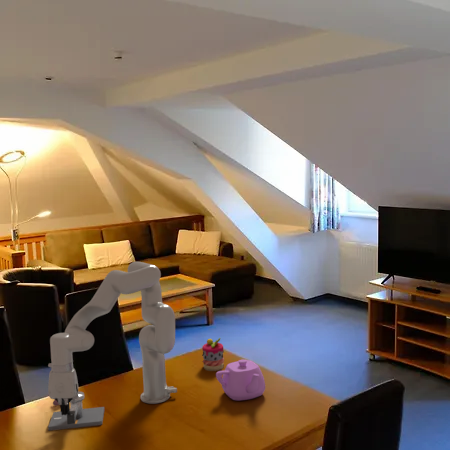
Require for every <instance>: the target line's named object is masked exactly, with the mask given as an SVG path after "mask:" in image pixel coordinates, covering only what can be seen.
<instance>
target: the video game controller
mask: <svg viewBox="0 0 450 450" xmlns="http://www.w3.org/2000/svg"><path fill="white" fill-rule="evenodd" d="M64 400H65V398H64ZM52 405H53V406H54V407H55V406H58V405H59V403H58V402H57V401H56V400H54V399H53V402H52ZM59 406H60V405H59Z"/></svg>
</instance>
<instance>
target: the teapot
mask: <svg viewBox="0 0 450 450" xmlns="http://www.w3.org/2000/svg"><path fill="white" fill-rule="evenodd" d="M262 372H263V371H262V370H261V368H260V366H259V365H258V364H257V363H255V362H254V361H253V360H250V359H245V358H244V359H238V361H233V362H230V363H228V364H227V365H226V367H225V368H224V370H218V371H217V372H216V373H215V378H216V379H217V381H218V382H219V384H220V385H221V387H222V389H223V391H224V393H225V395H226V396H227V397H229V398H230V399H231V400H233V401H247V400H253V399H256V398H258V397H260V396H263V394H264V392H265V391H266V383H265V382H266V381H265V378H264V375H263V373H262Z"/></svg>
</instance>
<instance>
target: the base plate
mask: <svg viewBox="0 0 450 450" xmlns="http://www.w3.org/2000/svg"><path fill="white" fill-rule="evenodd" d="M82 409H83V416H82V417H80V418H76V421H75V424H67V415H62V414H61V411H59V410H58V411H53V413H52V416H51V419H50V420H49V424H48V426H47V429H48V431H56V430H65V429H67V430H68V429H75V428H85V427H95V426H103V421H104V414H105V406H99V407H89V408H82Z"/></svg>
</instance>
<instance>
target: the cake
mask: <svg viewBox="0 0 450 450" xmlns="http://www.w3.org/2000/svg"><path fill="white" fill-rule="evenodd" d="M220 341H221V337H219V338H218V339H216V340H215V341H214V340H213V339H212V338H208V339H207V340H206V343H205V344H203V345H202V358H203V361H201V362H202V363H203V369H204V371H208V372H216V371H217V372H218V371H222V370H223V368H224V362H225V358H224V353H225V352H224V345H223V344H222V343H220Z"/></svg>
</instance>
